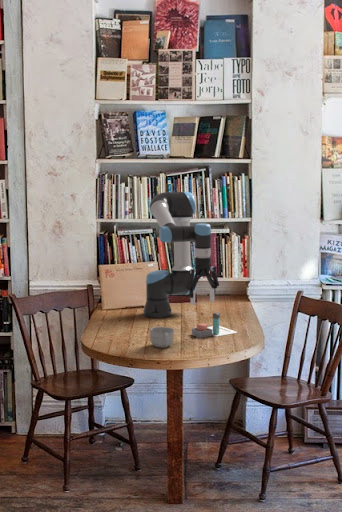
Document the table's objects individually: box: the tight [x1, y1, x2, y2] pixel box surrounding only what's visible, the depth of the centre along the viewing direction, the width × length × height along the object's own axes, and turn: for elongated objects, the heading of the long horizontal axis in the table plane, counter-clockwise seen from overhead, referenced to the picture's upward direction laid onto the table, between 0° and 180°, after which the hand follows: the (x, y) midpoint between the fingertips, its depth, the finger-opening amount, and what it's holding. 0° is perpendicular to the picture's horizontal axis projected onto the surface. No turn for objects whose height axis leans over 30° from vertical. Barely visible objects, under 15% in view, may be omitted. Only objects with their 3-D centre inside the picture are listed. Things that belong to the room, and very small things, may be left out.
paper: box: [207, 325, 239, 338], centre depth 360 cm, size 16×13×1 cm
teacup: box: [149, 326, 175, 349], centre depth 333 cm, size 14×11×8 cm
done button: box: [196, 323, 208, 331], centre depth 352 cm, size 5×5×3 cm
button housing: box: [191, 327, 213, 339], centre depth 353 cm, size 7×7×3 cm
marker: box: [212, 312, 221, 335], centre depth 354 cm, size 3×3×10 cm
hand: (202, 302), depth 351 cm, fingers open, 10 cm apart
